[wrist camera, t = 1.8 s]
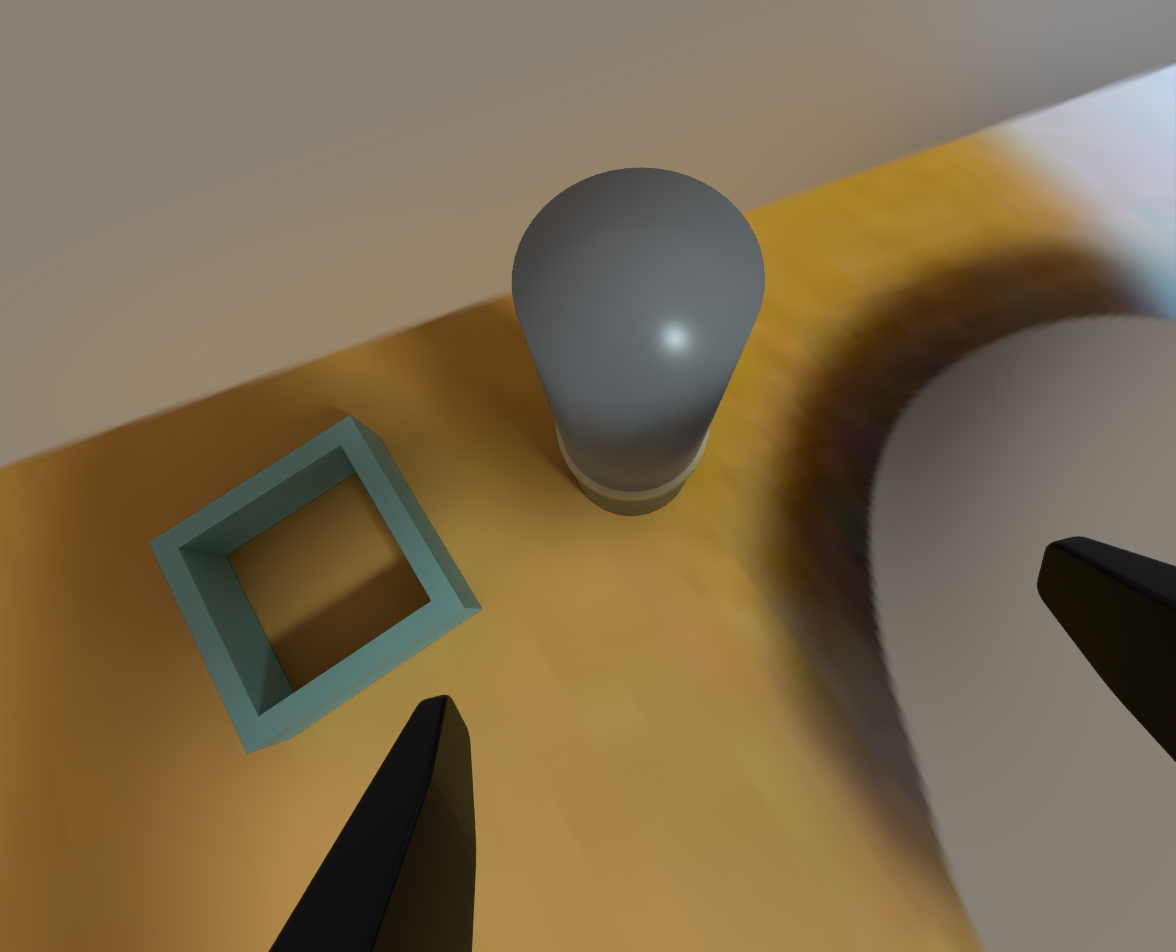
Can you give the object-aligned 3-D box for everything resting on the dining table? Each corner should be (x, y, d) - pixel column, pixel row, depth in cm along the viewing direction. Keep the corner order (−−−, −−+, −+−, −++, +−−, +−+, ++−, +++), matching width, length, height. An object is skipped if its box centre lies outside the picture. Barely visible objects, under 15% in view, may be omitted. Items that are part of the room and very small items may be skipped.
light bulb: (714, 429, 23) (814, 214, 11) (661, 541, 22) (706, 447, 10) (602, 380, 23) (576, 127, 11) (547, 486, 23) (456, 336, 10)
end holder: (482, 608, 22) (464, 607, 19) (290, 738, 21) (247, 754, 19) (378, 435, 24) (349, 414, 21) (199, 549, 23) (148, 542, 20)
